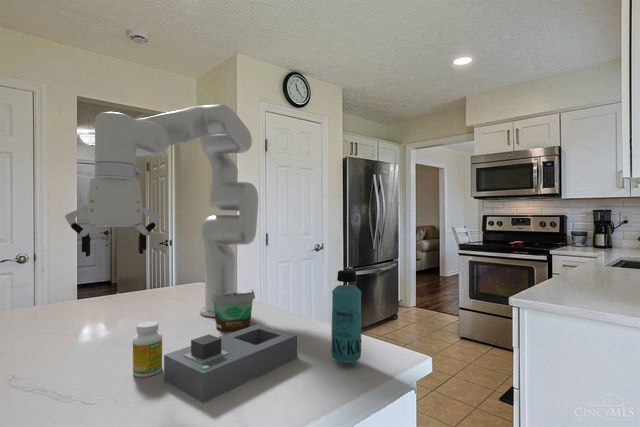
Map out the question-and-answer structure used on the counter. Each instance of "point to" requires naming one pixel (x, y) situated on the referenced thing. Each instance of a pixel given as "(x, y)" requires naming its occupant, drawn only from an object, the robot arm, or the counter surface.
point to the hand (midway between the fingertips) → (115, 254)
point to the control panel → (228, 360)
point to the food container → (233, 311)
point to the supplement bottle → (147, 350)
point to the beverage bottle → (346, 319)
